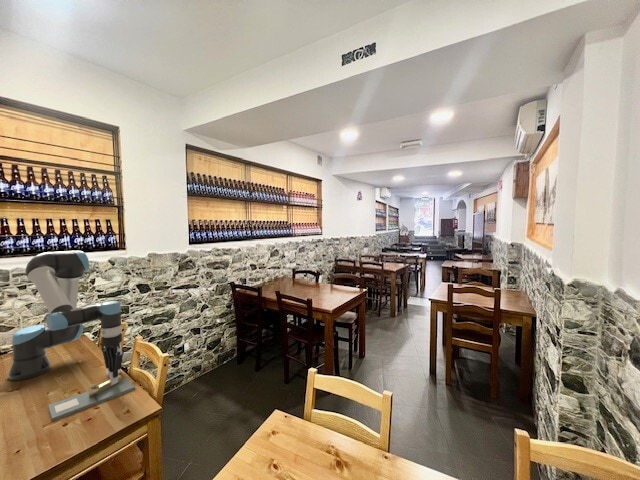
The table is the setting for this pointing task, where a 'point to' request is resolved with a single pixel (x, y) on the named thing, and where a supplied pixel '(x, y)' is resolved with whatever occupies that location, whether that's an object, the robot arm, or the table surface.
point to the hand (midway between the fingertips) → (114, 383)
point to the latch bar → (101, 387)
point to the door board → (88, 399)
